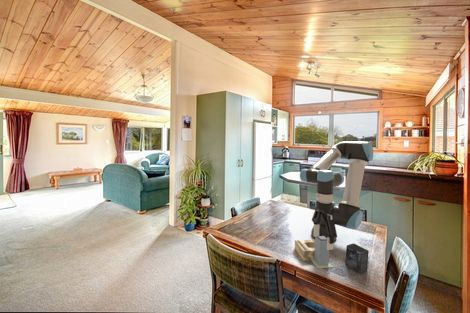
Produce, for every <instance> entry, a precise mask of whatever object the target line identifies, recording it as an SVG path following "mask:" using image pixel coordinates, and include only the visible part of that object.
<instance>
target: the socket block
mask: <svg viewBox="0 0 470 313" xmlns="http://www.w3.org/2000/svg"><path fill="white" fill-rule="evenodd" d="M294 250H295V252H297V254H298V255H299V256H300V257H301V259H302V261H311V259H314V252H315V239H297V240H295V239H294Z"/></svg>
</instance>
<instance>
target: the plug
mask: <svg viewBox="0 0 470 313" xmlns="http://www.w3.org/2000/svg"><path fill="white" fill-rule="evenodd" d="M314 240H315V252H314V261H315V262H316V263H317V264H318V265H319V266H321V265H328V264H329V263H330V261H329V260H330V250H327V238H326V237H324V236H317V237H315V238H314Z"/></svg>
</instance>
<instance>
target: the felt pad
mask: <svg viewBox="0 0 470 313" xmlns="http://www.w3.org/2000/svg"><path fill="white" fill-rule="evenodd" d="M310 261H311V262H312V263H313V264H314V267H316V268H317V269H330V268H332V269H333V268H334V266H333V265H332V264H331V262H329V264H328V265H321V266H319V265H318V264H317V263H316V262H315V261H314V259H311V260H310Z"/></svg>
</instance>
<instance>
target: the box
mask: <svg viewBox="0 0 470 313" xmlns="http://www.w3.org/2000/svg"><path fill="white" fill-rule="evenodd" d="M368 263H369V249H366V248H365V247H362V246H360V245H358V244H356V243H355V242H354V243H351V244H347V245H346V251H345V266H347V267H348V268H350V269H352V270H353V271H355V272H356V273H358V274H362V273H363V274H364V273H366V272H368V267H369V266H368V265H369V264H368Z"/></svg>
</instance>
